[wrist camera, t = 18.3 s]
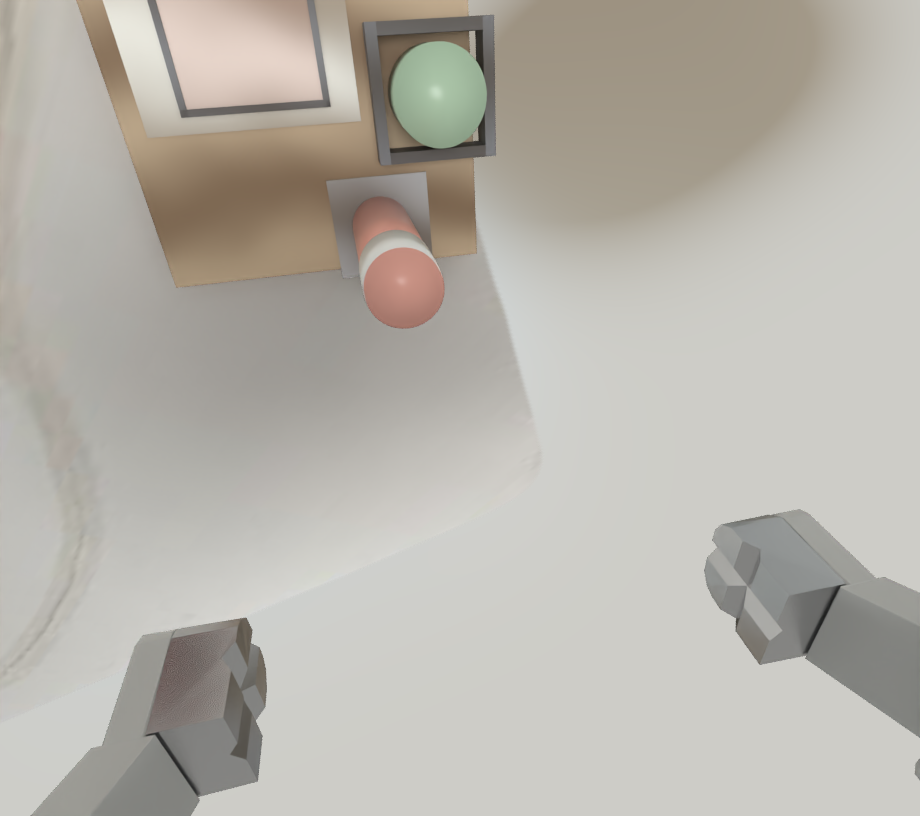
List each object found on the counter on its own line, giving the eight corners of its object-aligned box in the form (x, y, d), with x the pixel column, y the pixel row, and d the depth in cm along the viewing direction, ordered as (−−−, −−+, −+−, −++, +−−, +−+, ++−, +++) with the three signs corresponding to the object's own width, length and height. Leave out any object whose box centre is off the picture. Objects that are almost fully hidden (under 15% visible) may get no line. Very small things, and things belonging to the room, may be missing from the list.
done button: (473, 136, 28) (487, 144, 25) (393, 142, 27) (399, 152, 25) (470, 39, 25) (485, 38, 23) (382, 44, 25) (389, 44, 22)
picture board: (485, 254, 32) (497, 269, 30) (184, 288, 30) (172, 307, 28) (472, -278, 21) (489, -316, 19) (-12, -287, 19) (-57, -331, 17)
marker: (390, 266, 30) (416, 343, 22) (340, 235, 29) (347, 303, 21) (422, 217, 29) (461, 278, 21) (371, 182, 28) (392, 232, 20)
